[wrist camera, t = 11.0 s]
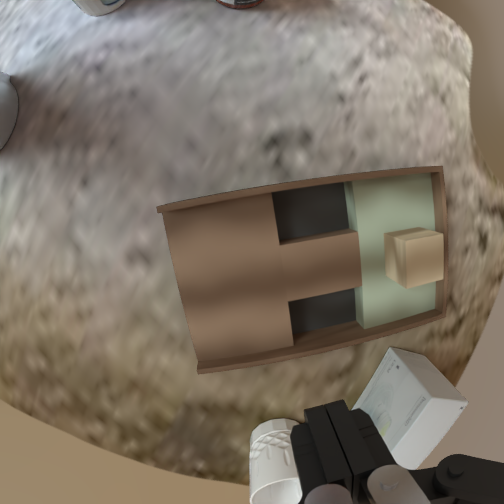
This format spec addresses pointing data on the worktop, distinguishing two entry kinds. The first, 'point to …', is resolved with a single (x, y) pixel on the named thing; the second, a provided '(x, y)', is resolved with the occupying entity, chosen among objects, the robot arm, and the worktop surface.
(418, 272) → the maple block
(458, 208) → the worktop surface
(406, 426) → the skincare box
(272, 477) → the white cup
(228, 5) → the supplement bottle
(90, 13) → the spray can
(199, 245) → the box
